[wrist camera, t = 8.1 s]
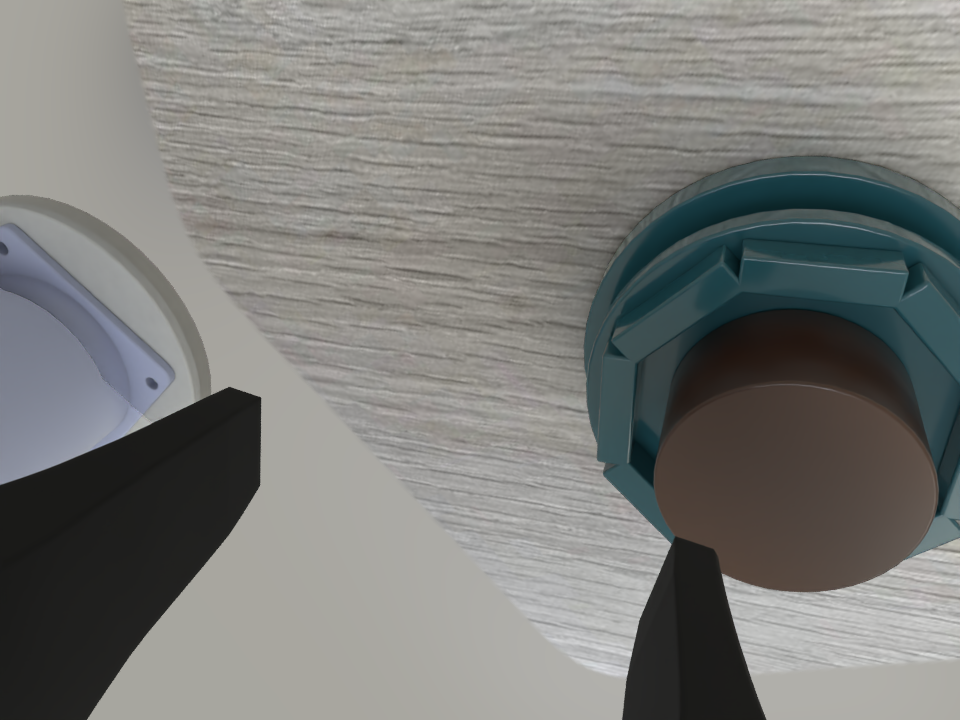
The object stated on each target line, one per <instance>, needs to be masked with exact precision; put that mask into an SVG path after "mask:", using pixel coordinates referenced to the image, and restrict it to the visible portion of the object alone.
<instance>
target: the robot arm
mask: <svg viewBox="0 0 960 720" xmlns="http://www.w3.org/2000/svg"><path fill="white" fill-rule="evenodd" d="M6 246H7V247H6ZM174 379H175V373H174V371H173V369H172V367H171V366H170V365H169V364H168V363H167V362H166V361H164V360H163V359H162V358H161V357H160V356H159V355H158V354H157V353H156V352H155V351H154V350H152V349H151V348H150V347H149V346H148V345H147V344H146V343H145V342H144V341H143V340H141V339H140V338H139V337H138V336H137V335H136V334H135V333H134V332H133V331H132V330H130V329H129V328H128V327H127V326H126V325H125V324H124V323H123V322H122V321H121V320H120V319H118V318H117V317H116V316H115V315H114V314H113V313H112V312H111V311H110V310H109V309H107V308H106V307H105V306H104V305H103V304H102V303H101V302H100V301H99V300H98V299H96V298H95V297H94V296H93V295H92V294H91V293H90V292H89V291H88V290H87V289H86V288H84V287H83V286H82V285H81V284H80V283H79V282H78V281H77V280H76V279H75V278H73V277H72V276H71V275H70V274H69V273H68V272H67V271H66V270H65V269H64V268H63V267H61V266H60V265H59V264H58V263H57V262H56V261H55V260H54V259H53V258H52V257H50V256H49V255H48V254H47V253H46V252H45V251H44V250H43V249H42V248H41V247H39V246H38V245H37V244H36V243H35V242H34V241H33V240H32V239H31V238H30V237H29V236H27V235H26V234H25V233H24V232H23V231H22V230H21V229H20V228H18V227H17V226H16V225H14V224H11V223H7V224H4V225H2V226H0V720H87V719H88V717H89V716H90V714H91V713H92V711H93V709H94V708H95V706H96V705H97V703H98V702H99V700H100V699H101V698H102V696H103V695H104V693H105V692H106V690H107V689H108V687H109V686H110V684H111V683H112V681H113V680H114V678H115V677H116V675H117V674H118V673H119V671H120V669H121V668H122V667H123V665H124V664H125V662H126V661H127V659H128V658H129V656H130V655H131V654H132V652H133V651H134V650H135V648H136V647H137V646H138V645H139V643H140V642H141V641H142V639H143V638H144V637H145V635H146V634H147V633H148V632H149V630H150V629H151V628H152V627H153V626H154V625H155V623H156V622H157V621H158V620H159V619H160V617H161V616H162V615H163V614H164V613H165V611H166V610H167V609H168V608H169V607H170V605H171V604H172V603H173V602H174V601H175V599H176V598H177V597H178V596H179V595H180V593H181V592H182V591H183V590H184V589H185V587H186V586H187V585H188V584H189V583H190V582H191V580H192V579H193V578H194V577H195V575H196V574H197V573H198V572H199V571H200V570H201V568H202V567H203V566H204V565H205V563H206V562H207V561H208V560H209V559H210V557H211V556H212V555H213V554H214V553H215V551H216V550H217V549H218V548H219V546H220V545H221V544H222V543H223V542H224V540H225V539H226V538H227V536H228V535H229V534H230V532H231V531H232V529H233V528H234V526H235V525H236V523H237V522H238V520H239V519H240V517H241V516H242V514H243V513H244V511H245V509H246V508H247V506H248V504H249V503H250V501H251V500H252V498H253V496H254V495H255V493H256V491H257V490H258V488H259V486H260V452H261V451H260V450H261V397H258V396H255V395H252V394H249V393H246V392H243V391H240V390H237V389H234V388H231V387H228V388H226V389H224V390H221V391H219V392H217V393H215V394H213V395H210V396H208V397H206V398H204V399H202V400H200V401H198V402H196V403H194V404H192V405H190V406H188V407H185V408H183V409H181V410H179V411H177V412H175V413H173V414H171V415H169V416H167V417H165V418H163V419H161V420H158V421H156V422H154V423H152V424H150V425H148V426H146V427H143V428H141V429H139V430H137V431H135V432H133V433H131V434H128V435H126V434H127V433H128V432H129V431H130V430H131V428H132V427H133V426H134V425H135V424H136V423H137V422H138V420H139V419H140V418H141V417H142V416H143V415H144V414H145V413H146V411H147V410H148V409H149V408H150V407H151V406H152V405H153V404H154V402H155V401H156V400H157V399H158V398H159V397H160V396H161V395H162V393H163V392H164V391H165V390H166V389H167V388H168V387H169V386H170V384H171V383H172V382H173V381H174ZM154 380H155V381H156V382H155V381H154ZM125 435H126V436H125ZM622 720H766V718H765V715H764V712H763V710H762V707H761V705H760V702H759V700H758V697H757V694H756V691H755V688H754V685H753V683H752V680H751V677H750V674H749V671H748V668H747V664H746V661H745V658H744V655H743V652H742V649H741V646H740V643H739V640H738V636H737V633H736V629H735V626H734V622H733V619H732V615H731V611H730V608H729V604H728V600H727V596H726V592H725V587H724V583H723V578H722V574H721V569H720V564H719V558H718V555H717V554H716V552H715V550H714V549H713V548H710V547H707V546H704V545H701V544H698V543H695V542H692V541H689V540H686V539H683V538H680V537H677V536H675V538H674V540H673V543H672V545H671V547H670V550H669V552H668V554H667V557H666V559H665V561H664V564H663V566H662V568H661V571H660V573H659V576H658V578H657V580H656V583H655V585H654V587H653V590H652V592H651V594H650V597H649V599H648V602H647V604H646V606H645V609H644V611H643V613H642V616H641V618H640V621H639V625H638V630H637V634H636V639H635V643H634V648H633V652H632V657H631V661H630V666H629V671H628V676H627V681H626V691H625V700H624V709H623V718H622Z"/></svg>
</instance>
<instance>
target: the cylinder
mask: <svg viewBox="0 0 960 720" xmlns="http://www.w3.org/2000/svg"><path fill="white" fill-rule="evenodd" d="M654 490H655V497H656V500H657V504H658V507H659V510H660V512H661V514H662V516H663V518H664V520H665V522H666V524H667V526H668V527H669V529H670V530H671V532H672V533H673V535H674V536H677V537H680V538H683V539H686V540H689V541H692V542H695V543H698V544H701V545H704V546H707V547H710V548H713V549H714V550H715V552H716V554H717V555H718V558H719V564H720V569H721V573H722V574H725V575H727V576H729V577H731V578H734V579H736V580H739V581H742V582H745V583H748V584H751V585H755V586H759V587H763V588H767V589H773V590H780V591H790V592H820V591H828V590H836V589H841V588H845V587H850V586H854V585H857V584H860V583H863V582H866V581H869V580H871V579H873V578H875V577H877V576H879V575H882V574H884V573H885V572H887V571H889V570H890V569H892V568H893V567H895V566H897V565H898V564H899V563H900V562H902V561H903V560H904V559H905V558H907V557H908V556H909V555H910V554H911V553H912V552H913V551H914V550H915V549H916V548H917V546H918V545H919V544H920V543H921V541H922V540H923V538H924V537H925V535H926V534H927V532H928V530H929V528H930V526H931V524H932V522H933V519H934V517H935V513H936V509H937V505H938V492H939V487H938V479H937V473H936V469H935V465H934V462H933V458H932V454H931V451H930V447H929V443H928V440H927V436H926V432H925V428H924V425H923V421H922V417H921V414H920V410H919V406H918V402H917V399H916V395H915V391H914V388H913V385H912V382H911V379H910V377H909V375H908V373H907V371H906V369H905V367H904V365H903V364H902V362H901V361H900V360H899V358H898V357H897V356H896V354H895V353H894V352H893V351H892V350H891V349H890V348H889V347H888V346H887V345H886V344H885V343H884V342H883V341H881V340H880V339H879V338H877V337H876V336H875V335H873V334H872V333H871V332H869V331H867V330H865V329H864V328H862V327H860V326H858V325H857V324H854V323H852V322H849V321H847V320H845V319H842V318H840V317H836V316H832V315H829V314H825V313H820V312H814V311H808V310H792V309H787V310H772V311H766V312H760V313H755V314H751V315H748V316H745V317H741V318H738V319H736V320H734V321H731V322H729V323H727V324H724V325H723V326H721V327H719V328H717V329H716V330H714V331H712V332H711V333H709V334H708V335H707V336H705V337H704V338H703V339H701V340H700V341H699V342H698V343H697V344H696V345H695V346H694V347H693V348H692V349H691V350H690V351H689V352H688V353H687V355H686V356H685V357H684V359H683V360H682V361H681V363H680V365H679V367H678V369H677V370H676V372H675V375H674V377H673V380H672V383H671V386H670V391H669V396H668V401H667V407H666V412H665V417H664V422H663V427H662V432H661V437H660V442H659V447H658V452H657V457H656V463H655V468H654Z"/></svg>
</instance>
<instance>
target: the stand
mask: <svg viewBox="0 0 960 720" xmlns="http://www.w3.org/2000/svg"><path fill="white" fill-rule="evenodd" d="M787 309H792V310H808V311H814V312H820V313H825V314H829V315H832V316H836V317H840V318H842V319H845V320H847V321H849V322H852V323H854V324H857V325H858V326H860V327H862V328H864V329H865V330H867V331H869V332H871V333H872V334H873V335H875V336H876V337H877V338H879V339H880V340H881V341H883V342H884V343H885V344H886V345H887V346H888V347H889V348H890V349H891V350H892V351H893V352H894V353H895V354H896V356H897V357H898V358H899V360H900V361H901V362H902V364H903V365H904V367H905V369H906V371H907V373H908V375H909V377H910V379H911V382H912V385H913V388H914V391H915V395H916V399H917V402H918V406H919V410H920V414H921V417H922V421H923V425H924V428H925V432H926V436H927V440H928V443H929V447H930V451H931V454H932V458H933V462H934V465H935V469H936V473H937V479H938V487H939V492H938V505H937V509H936V513H935V517H934V519H933V522H932V524H931V526H930V528H929V530H928V532H927V534H926V535H925V537H924V538H923V540H922V541H921V543H920V544H919V545H918V546H917V548H916V549H915V550H914V551H913V552H912V553H911V554H910V555H909V556H908V557H907V558H905V559H908V558H910V557H913V556H915V555H918V554H920V553H923V552H925V551H928V550H930V549H933V548H935V547H938V546H940V545H943V544H945V543H948V542H950V541H953V540H955V539H958V538H960V210H959V209H958V208H957V207H955V206H954V205H953V204H951V203H950V202H949V201H948V200H946V199H945V198H944V197H942V196H941V195H940V194H938V193H937V192H935V191H933V190H931V189H930V188H928V187H926V186H924V185H922V184H921V183H919V182H917V181H915V180H914V179H912V178H909V177H906V176H904V175H901V174H899V173H896V172H894V171H891V170H889V169H886V168H883V167H879V166H875V165H871V164H867V163H863V162H859V161H855V160H849V159H841V158H832V157H824V156H791V157H783V158H775V159H767V160H760V161H756V162H752V163H747V164H743V165H739V166H735V167H731V168H729V169H726V170H723V171H721V172H718V173H716V174H713V175H710V176H708V177H705V178H703V179H701V180H699V181H697V182H695V183H693V184H691V185H689V186H688V187H686V188H684V189H682V190H680V191H678V192H677V193H675V194H674V195H673V196H671V197H670V198H668V199H667V200H665V201H664V202H663V203H661V204H660V205H658V206H657V207H656V208H655V209H654V210H652V211H651V212H650V213H649V214H648V215H647V216H646V217H645V218H644V219H643V220H641V221H640V222H639V223H638V224H637V225H636V226H635V228H634V229H633V230H632V231H631V232H630V234H629V235H628V236H627V237H626V238H625V240H624V241H623V242H622V243H621V245H620V246H619V248H618V250H617V251H616V253H615V254H614V256H613V258H612V259H611V261H610V262H609V264H608V267H607V269H606V271H605V273H604V276H603V278H602V280H601V282H600V285H599V287H598V289H597V292H596V294H595V297H594V299H593V302H592V305H591V309H590V312H589V316H588V320H587V323H586V331H585V340H584V367H585V373H586V378H587V380H586V396H587V408H588V413H589V419H590V424H591V427H592V430H593V433H594V436H595V439H596V442H597V460H598V461H599V462H604V463H605V467H604V470H603V475H604V477H605V478H606V479H607V480H608V481H609V482H610V483H611V484H612V485H613V486H614V487H615V488H616V489H617V490H618V491H619V492H620V493H621V494H622V495H623V496H624V497H625V498H626V499H627V500H628V501H629V502H630V503H631V504H632V505H633V506H634V507H635V508H636V509H637V510H638V511H639V512H640V513H641V514H642V515H643V516H644V517H645V518H646V519H647V520H648V521H649V522H650V523H651V524H652V525H653V526H654V527H655V528H656V529H657V530H658V531H659V532H660V533H661V534H662V535H663V536H664V537H665V538H666V539H667V540H668V541H669V542H670V543H671V544H672V543H673V540H674V538H675V536H674V535H673V533H672V532H671V530H670V529H669V527H668V526H667V524H666V522H665V520H664V518H663V516H662V514H661V512H660V510H659V507H658V504H657V500H656V497H655V490H654V468H655V463H656V457H657V452H658V447H659V442H660V437H661V432H662V427H663V422H664V417H665V412H666V407H667V401H668V396H669V391H670V386H671V383H672V380H673V377H674V375H675V372H676V370H677V369H678V367H679V365H680V363H681V361H682V360H683V359H684V357H685V356H686V355H687V353H688V352H689V351H690V350H691V349H692V348H693V347H694V346H695V345H696V344H697V343H698V342H699V341H700V340H701V339H703V338H704V337H705V336H707V335H708V334H709V333H711V332H712V331H714V330H716V329H717V328H719V327H721V326H723V325H724V324H727V323H729V322H731V321H734V320H736V319H738V318H741V317H745V316H748V315H751V314H755V313H760V312H766V311H772V310H787ZM905 559H904V560H905Z"/></svg>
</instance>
